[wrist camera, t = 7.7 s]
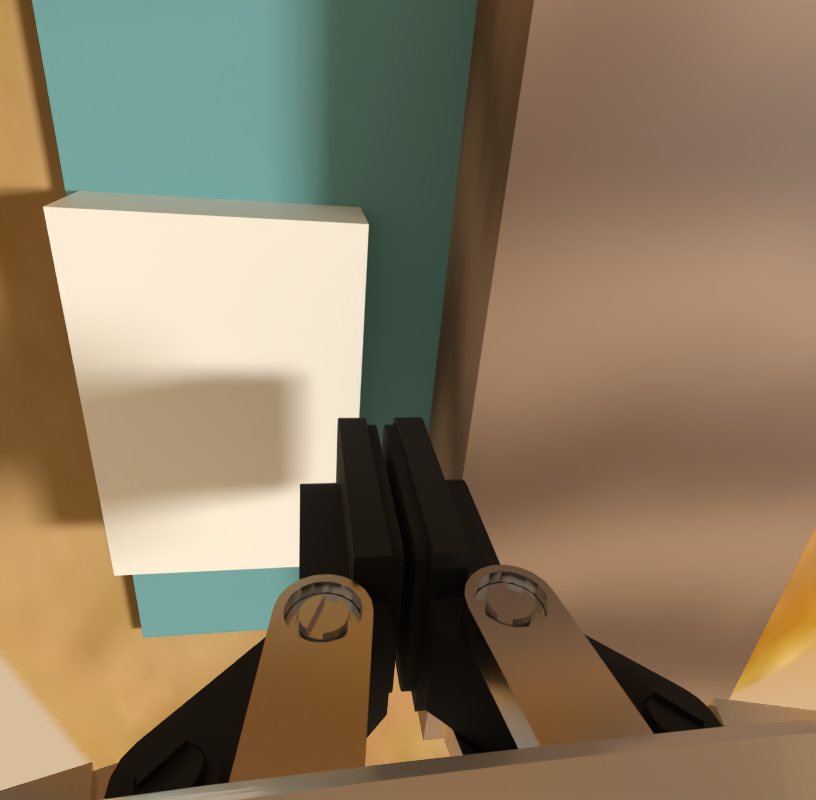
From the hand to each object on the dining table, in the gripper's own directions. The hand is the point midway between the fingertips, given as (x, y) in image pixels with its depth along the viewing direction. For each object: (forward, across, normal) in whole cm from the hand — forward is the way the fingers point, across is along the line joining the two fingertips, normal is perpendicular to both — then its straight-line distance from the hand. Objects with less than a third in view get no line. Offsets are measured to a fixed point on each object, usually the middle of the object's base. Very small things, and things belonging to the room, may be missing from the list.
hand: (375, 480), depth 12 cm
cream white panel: (+2, +3, 0) cm, 4 cm away
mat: (+5, +2, 0) cm, 5 cm away
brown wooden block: (+5, -7, 0) cm, 9 cm away
